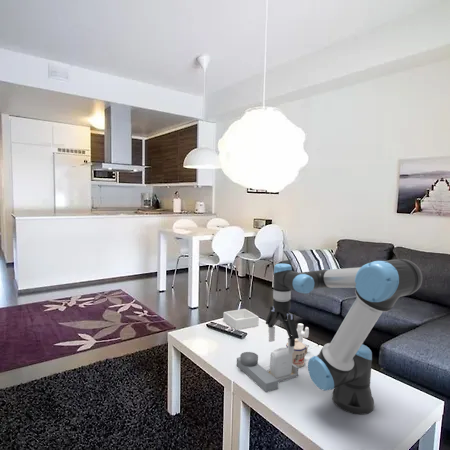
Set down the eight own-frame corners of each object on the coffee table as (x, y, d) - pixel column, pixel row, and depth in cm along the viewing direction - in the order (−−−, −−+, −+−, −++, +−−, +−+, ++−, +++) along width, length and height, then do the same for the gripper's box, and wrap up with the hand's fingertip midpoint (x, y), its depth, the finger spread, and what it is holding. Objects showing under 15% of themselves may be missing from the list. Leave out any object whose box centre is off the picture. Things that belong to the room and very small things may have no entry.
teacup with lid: (294, 369, 153) (295, 345, 152) (281, 361, 161) (282, 337, 160) (313, 363, 159) (314, 340, 158) (299, 355, 167) (300, 333, 166)
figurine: (295, 347, 177) (296, 319, 176) (311, 353, 170) (312, 324, 169) (287, 351, 172) (288, 322, 171) (302, 357, 165) (304, 328, 164)
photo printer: (274, 380, 143) (275, 352, 142) (268, 375, 146) (269, 348, 145) (293, 375, 147) (294, 348, 146) (287, 370, 151) (288, 344, 150)
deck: (304, 380, 144) (305, 366, 144) (263, 392, 134) (264, 377, 134) (271, 356, 165) (272, 343, 165) (234, 365, 155) (235, 352, 155)
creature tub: (258, 326, 204) (258, 316, 204) (235, 330, 197) (236, 320, 196) (244, 317, 218) (245, 308, 218) (223, 321, 211) (223, 312, 211)
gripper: (308, 306, 136) (306, 356, 137) (272, 291, 158) (271, 335, 159) (293, 308, 132) (292, 360, 133) (258, 293, 154) (257, 338, 155)
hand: (280, 346), depth 146 cm, fingers open, 13 cm apart
